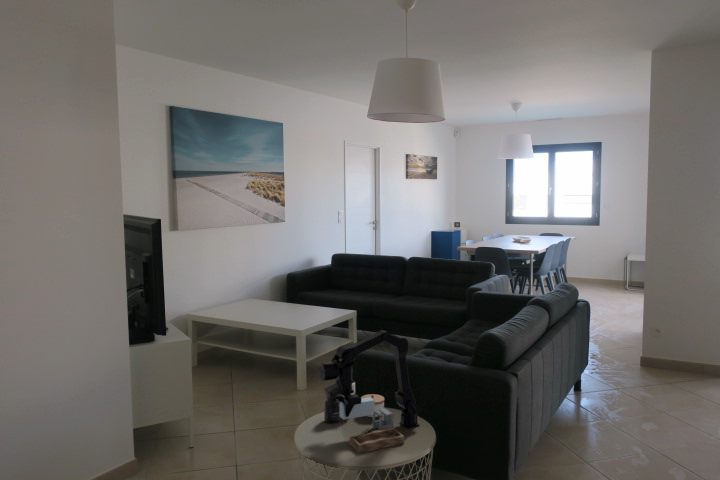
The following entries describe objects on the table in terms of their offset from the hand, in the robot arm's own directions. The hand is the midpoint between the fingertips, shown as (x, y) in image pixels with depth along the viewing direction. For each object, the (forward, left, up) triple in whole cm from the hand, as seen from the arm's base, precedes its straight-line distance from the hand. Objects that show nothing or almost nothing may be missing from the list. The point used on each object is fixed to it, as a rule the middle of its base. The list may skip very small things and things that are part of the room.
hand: (344, 414), depth 222 cm
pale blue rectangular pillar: (-6, 0, -1) cm, 6 cm away
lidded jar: (-22, -17, -10) cm, 29 cm away
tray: (-9, +11, -10) cm, 17 cm away
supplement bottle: (-2, -18, -10) cm, 21 cm away
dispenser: (-18, 0, -10) cm, 20 cm away
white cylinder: (-11, -21, -10) cm, 26 cm away
